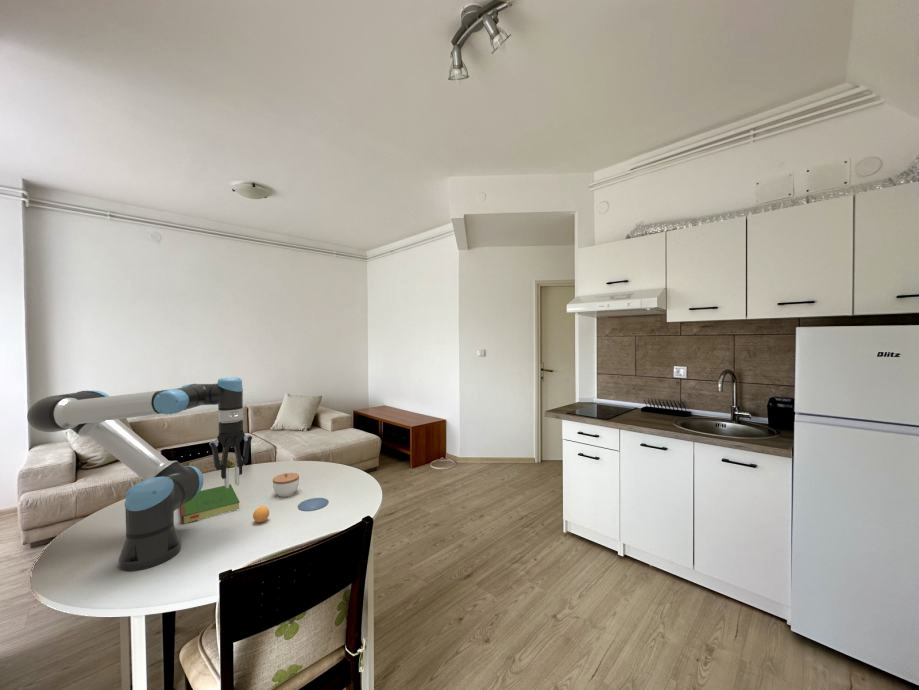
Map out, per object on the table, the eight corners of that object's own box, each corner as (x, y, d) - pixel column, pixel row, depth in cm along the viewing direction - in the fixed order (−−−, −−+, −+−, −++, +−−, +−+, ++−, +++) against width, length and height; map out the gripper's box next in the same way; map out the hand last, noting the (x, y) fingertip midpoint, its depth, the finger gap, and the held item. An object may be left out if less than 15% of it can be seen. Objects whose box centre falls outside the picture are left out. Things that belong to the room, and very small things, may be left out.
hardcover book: (179, 504, 155) (179, 495, 155) (230, 492, 167) (230, 484, 167) (182, 527, 136) (182, 517, 136) (240, 511, 148) (239, 502, 148)
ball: (255, 526, 135) (255, 511, 134) (251, 521, 138) (250, 507, 138) (271, 521, 138) (271, 507, 138) (266, 516, 142) (266, 502, 142)
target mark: (304, 514, 144) (304, 513, 144) (293, 504, 153) (293, 504, 153) (333, 504, 153) (333, 503, 153) (320, 495, 161) (320, 495, 161)
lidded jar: (304, 489, 168) (303, 469, 168) (291, 499, 157) (290, 478, 157) (282, 489, 169) (281, 468, 169) (267, 499, 158) (267, 477, 158)
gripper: (207, 426, 123) (208, 495, 123) (258, 418, 134) (259, 482, 134) (202, 422, 128) (203, 489, 129) (251, 415, 139) (252, 477, 140)
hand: (232, 485), depth 131 cm, fingers open, 3 cm apart
